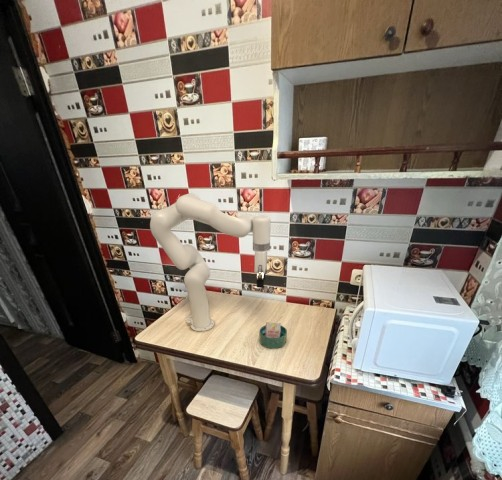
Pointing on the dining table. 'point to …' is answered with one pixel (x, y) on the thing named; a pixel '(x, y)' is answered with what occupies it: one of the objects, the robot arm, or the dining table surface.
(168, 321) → the dining table surface
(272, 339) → the teal faceted bowl
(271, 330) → the white juice carton
